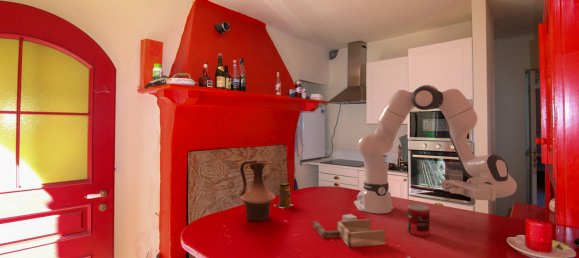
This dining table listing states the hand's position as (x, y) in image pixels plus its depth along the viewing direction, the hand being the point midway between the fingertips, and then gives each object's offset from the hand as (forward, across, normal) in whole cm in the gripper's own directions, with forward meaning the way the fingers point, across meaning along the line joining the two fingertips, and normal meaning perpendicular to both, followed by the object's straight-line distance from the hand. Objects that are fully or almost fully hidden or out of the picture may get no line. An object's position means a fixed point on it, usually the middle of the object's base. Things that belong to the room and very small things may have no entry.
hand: (447, 189), depth 113 cm
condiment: (+61, -49, +17) cm, 80 cm away
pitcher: (+76, -32, +17) cm, 84 cm away
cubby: (+38, 0, +17) cm, 42 cm away
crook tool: (+49, -10, +17) cm, 53 cm away
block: (+37, -13, +17) cm, 43 cm away
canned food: (+13, 0, +17) cm, 22 cm away
